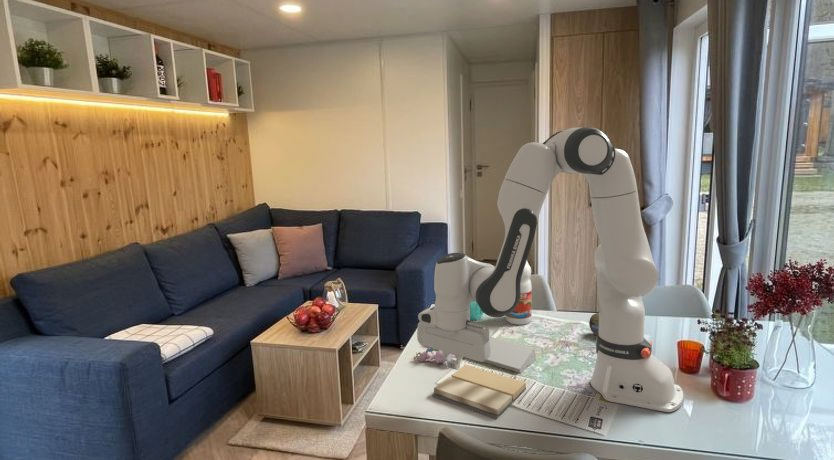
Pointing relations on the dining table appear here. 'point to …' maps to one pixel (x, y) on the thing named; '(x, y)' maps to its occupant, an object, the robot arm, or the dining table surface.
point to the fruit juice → (523, 300)
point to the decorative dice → (475, 311)
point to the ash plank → (473, 395)
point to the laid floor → (486, 386)
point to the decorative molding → (510, 355)
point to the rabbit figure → (432, 356)
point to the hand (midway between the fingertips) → (453, 367)
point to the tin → (594, 323)
